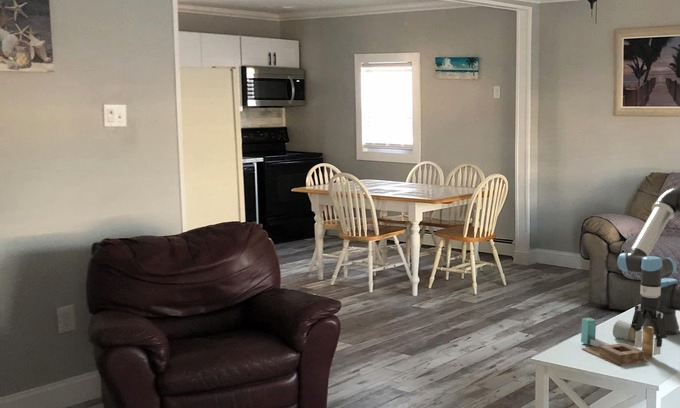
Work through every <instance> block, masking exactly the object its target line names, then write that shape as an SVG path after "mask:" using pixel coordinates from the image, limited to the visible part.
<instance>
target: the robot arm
mask: <svg viewBox="0 0 680 408" xmlns="http://www.w3.org/2000/svg"><path fill="white" fill-rule="evenodd" d="M676 214H680V186H679V185H677V186H674V187H671V188H669V189H667V190H666V191H664V192H663V193H661V194H660V195H659V197H657V198H656V200H655V201H654V202H653V203H652V207H651V212H650V214H649V215H648V218H647V219H646V221H645V223H644V225H643V227H642V229H641V230H640V232H639V233H638V235H637V237H636V238H635V241H634V242H633V244H632V246H631V247H630V249H629V251H628V252H621V253H620V254H619V255H618V257H617V260H616V261H617V267H618V269H619V270H621V271H623V272H626V273H634V274H639V275H640V291H639V293H640V296H639V304H638V305H635V306H634V313H633V317H632V321H631V323H630V324H631V328H634V330H635V340H634V347H635V348H640V347H641V348H642V341H643V327H644V326H649V327H653V329H654V335H655V336H654V337H655V338H654V337H653V355H654V356H655V355H661V351H662V349H661V348H662V346H663V344H662V343H663V339H666V338H667V336H669V335H670V336H671V335H672V336H673V335H677V334H679V333H680V326H679V323H678V319H677V315H676V311H678V312H680V283H679V281H678V279H676V278H668V277H670V276H673V275H674V274H675V273H676V271H677V269H678V267H677V266H678V265H677V262H676V261H675V260H674V259H673V258H671V257H659V256H654V255H650V254H651V251H652V250H653V248H654V246H655V245H656V244H657V242H658V239H659V238H660V236H661V234H662V232H663V231H664V229H665V227H666V225H667V224H668V222H669V220H671V219H673V217H674V216H675V215H676Z"/></svg>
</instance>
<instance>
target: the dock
mask: <svg viewBox="0 0 680 408" xmlns="http://www.w3.org/2000/svg"><path fill="white" fill-rule="evenodd" d="M614 348H616V350H615V349H614ZM581 350H582V351H584V352H586V353H589V354H591V355H593V356H595V357H598V358H600V359H602V360H604V361H606V362H609V363H611V364H612V365H613V364H614V365H615V366H618V367H621V366H627V365H633V364H640V363H645V362H648V360H647V359H646V358H645V351H642V349H640V348H638V347H635V346H632V345H630V344H627V343H624V342H621V343H615V344H614V343H612V344H610V345H606V346H600V348H597V347H595V346H588V347H582V348H581Z"/></svg>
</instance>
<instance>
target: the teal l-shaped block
mask: <svg viewBox="0 0 680 408" xmlns="http://www.w3.org/2000/svg"><path fill="white" fill-rule="evenodd" d="M596 327H597V320H596V319H594V318H592V317H585V318H584V317H583V318H581V334H580V336H581V339H580V343H582V344H585V345H590V346H591V347H597V348H600V346H606V345H611V344H609V343H607V342H605V341H602V340H601V339H597V338H596V333H597V332H596V330H597V329H596ZM614 349H615V350H616V348H614Z"/></svg>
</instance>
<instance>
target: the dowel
mask: <svg viewBox="0 0 680 408" xmlns="http://www.w3.org/2000/svg"><path fill="white" fill-rule="evenodd" d="M654 335H655V334H654V329H653V327H649V326H644V327H643V329H642V346H641V350H642V351H645V358H644V359H653V355H654V337H655V336H654Z"/></svg>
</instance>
